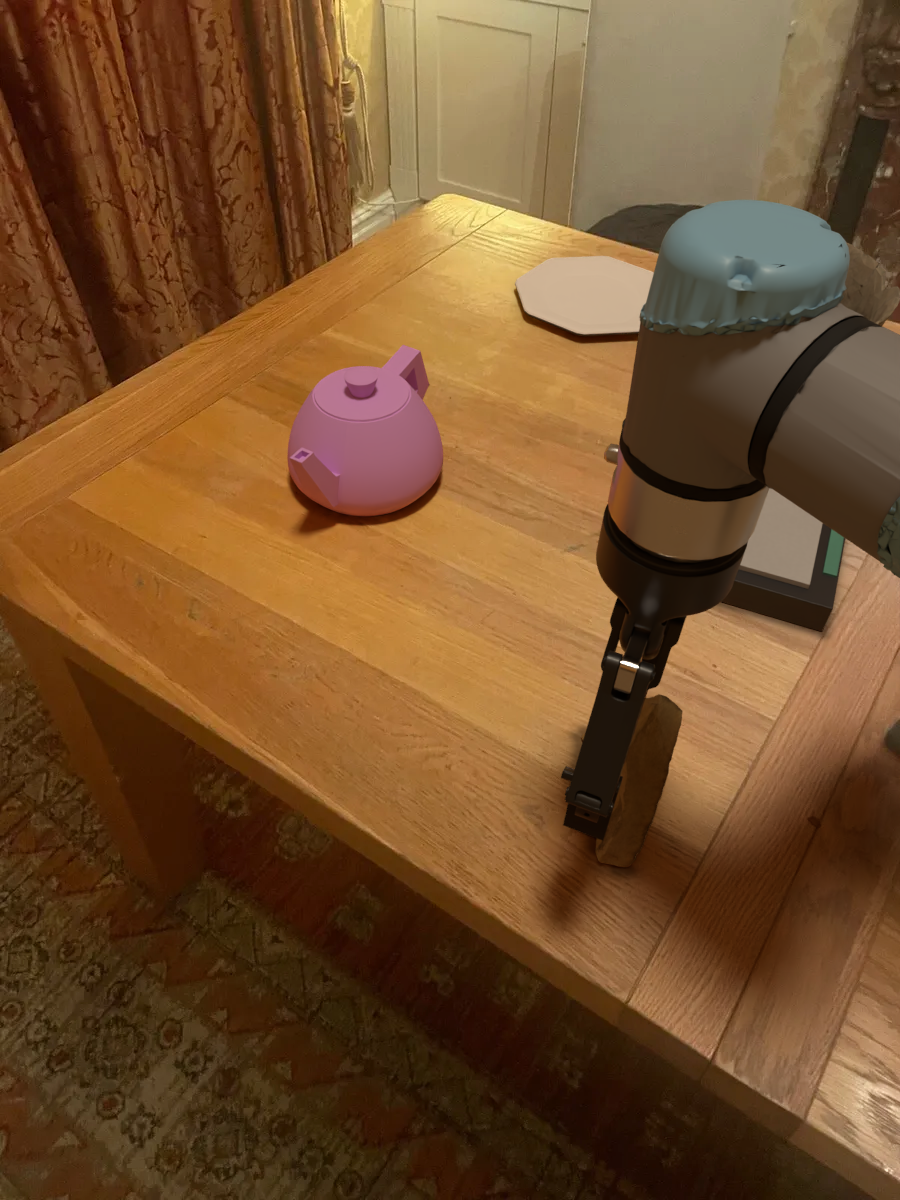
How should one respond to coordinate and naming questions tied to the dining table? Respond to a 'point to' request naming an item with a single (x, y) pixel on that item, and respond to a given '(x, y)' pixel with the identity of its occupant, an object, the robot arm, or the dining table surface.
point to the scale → (789, 566)
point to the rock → (641, 781)
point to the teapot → (367, 438)
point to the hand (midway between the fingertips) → (613, 746)
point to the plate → (586, 294)
